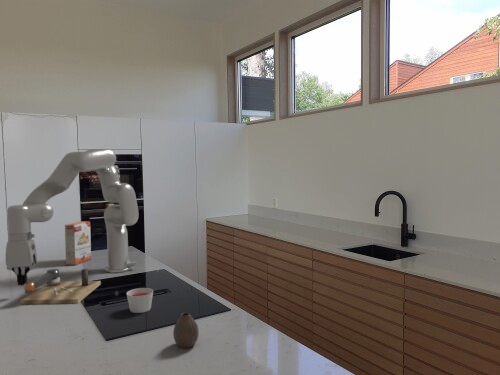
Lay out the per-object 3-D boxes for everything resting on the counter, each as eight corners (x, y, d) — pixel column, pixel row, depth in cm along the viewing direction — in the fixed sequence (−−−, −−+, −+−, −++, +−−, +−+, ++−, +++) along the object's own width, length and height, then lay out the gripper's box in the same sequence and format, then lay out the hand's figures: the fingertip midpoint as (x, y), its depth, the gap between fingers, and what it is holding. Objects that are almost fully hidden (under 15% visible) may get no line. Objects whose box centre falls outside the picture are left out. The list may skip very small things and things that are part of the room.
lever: (50, 276, 166) (50, 268, 166) (60, 276, 166) (60, 268, 166) (21, 292, 145) (20, 284, 144) (33, 292, 145) (33, 284, 144)
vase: (175, 340, 114) (174, 310, 113) (199, 338, 114) (198, 309, 114) (172, 351, 107) (171, 319, 106) (198, 350, 107) (197, 318, 107)
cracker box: (76, 265, 202) (74, 224, 201) (65, 265, 203) (63, 224, 202) (92, 259, 216) (90, 220, 214) (82, 258, 217) (80, 220, 216)
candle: (158, 306, 141) (158, 289, 141) (144, 316, 132) (143, 297, 132) (137, 304, 144) (136, 287, 143) (121, 313, 135) (120, 294, 135)
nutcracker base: (100, 284, 169) (99, 265, 168) (78, 303, 146) (77, 281, 145) (51, 285, 168) (50, 266, 168) (20, 304, 145) (19, 282, 145)
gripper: (44, 235, 156) (46, 281, 157) (6, 235, 156) (8, 281, 157) (34, 238, 148) (36, 287, 149) (-6, 239, 148) (-4, 287, 149)
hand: (22, 284), depth 153 cm, fingers closed
